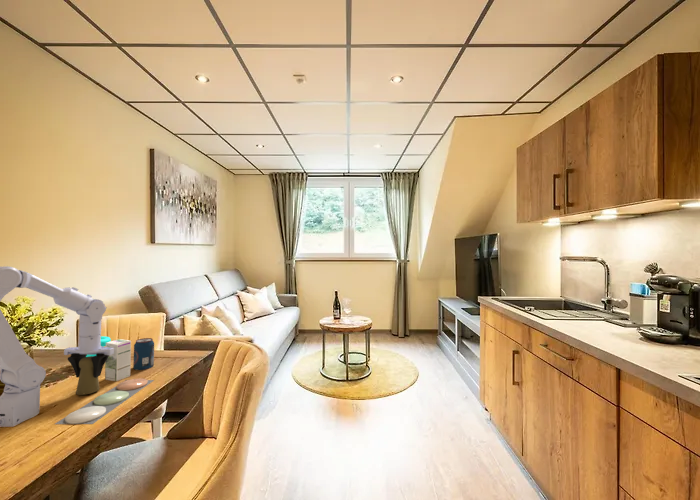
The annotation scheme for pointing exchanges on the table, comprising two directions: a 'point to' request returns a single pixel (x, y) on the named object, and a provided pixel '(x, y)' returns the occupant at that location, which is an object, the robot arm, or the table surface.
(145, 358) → the soda can
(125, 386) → the peach dome knob
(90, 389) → the cork
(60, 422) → the grey board
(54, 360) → the table surface
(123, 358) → the syrup box
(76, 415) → the white dome knob
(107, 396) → the pale green dome knob
